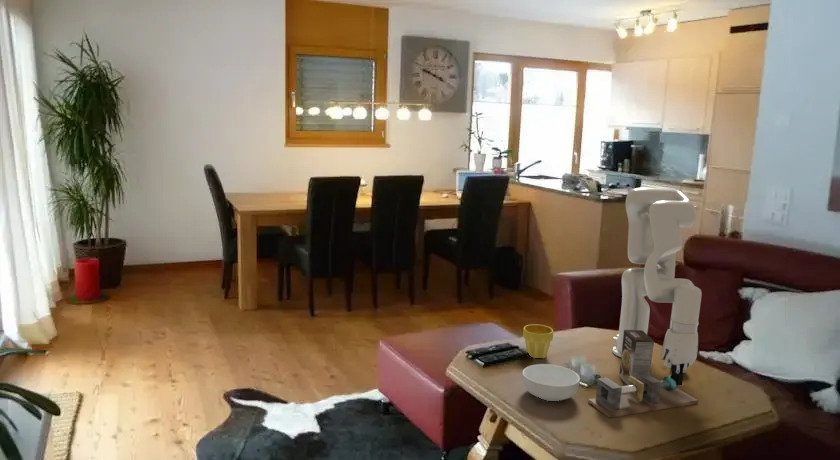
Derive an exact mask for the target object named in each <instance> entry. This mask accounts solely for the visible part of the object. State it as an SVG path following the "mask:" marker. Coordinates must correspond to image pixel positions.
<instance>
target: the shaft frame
mask: <svg viewBox="0 0 840 460" xmlns="http://www.w3.org/2000/svg"><path fill="white" fill-rule="evenodd" d="M661 381H662V380H659V379H658V378H656V377H654V376H652V375H651V374H650V375H649V374H647V373H645V372H642V373H637V375H636V378H634V377H633V376H629V378H628V385H633V383H634V384H636V385H637V386H638V391H637V393H631V394H625V395H621V390H622V387H621V386H620V384H617V383H616V382H614V381H613V380H611V379H610V378H608V377H601V378H597V383H596V392H595V393H596V396H595V397H593V398H588V400H587V402H589V404H590V405H591V404H592V405H593V408H595V407H596V408H597V409H596V408H595V409H596V410H598V411H599V410H600V411H599V412H601V413H602V414H603V413H604V414H603V415H604V416H606V417H607V416H608V417H607V418H609V419H611V418H610V417H612V418H617V417H624V416H629V415H634V414H635V415H636V414H641V413H647V412H653V411H659V410H664V409H665V410H666V409H671V408H672V409H673V408H678V407H683V406H689V405H695V404H698V401H699V400H698V399H696V398H695V397H693V396H692V395H690V394H688V393H686V392H685V391H682V390H681V389H679V388H678V387H676V388H675V390H674V391H667V390H665V388H664V389H660V386H661ZM644 383H646V384H648V387H647V391H645V392H643V389H644ZM592 405H591V406H592Z"/></svg>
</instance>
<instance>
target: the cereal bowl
mask: <svg viewBox="0 0 840 460" xmlns="http://www.w3.org/2000/svg"><path fill="white" fill-rule="evenodd" d="M521 373H522V376H521V379H522V384H523V386H524V388H525V390H526V391H528V392H527V393H529V394H531V395H533V396H535V397H536V398H538V397H539V398H541V399H544V400H547V401H546V402H548V401H558V402H560V401H563V400H568V399H570V398H572V397H573V396H575V395H576V394H577V392H578V390H579V387H580V384H581V383H580V382H581V379H580V375H579V374H578V373H577V372H575V371H574V370H572V369H570V368H567V367H565V366H561V365H558V364H551V363H550V364H549V363H539V364H538V363H537V364H532V365H528V366H527V367H525V368H523V369H522V372H521ZM539 398H538V399H539ZM541 399H540V400H541ZM544 400H543V401H544ZM559 400H560V401H559Z"/></svg>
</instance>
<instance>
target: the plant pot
mask: <svg viewBox="0 0 840 460" xmlns="http://www.w3.org/2000/svg"><path fill="white" fill-rule="evenodd" d="M522 331H523V332H522V337H523V339H524V342H525V349H526V353H527V352H528V353H529V355H530V356H531V357H533V359H535V358H543V359H546V357H547V355H548V351H549V349H550V344H551V342H552V341H553V338H554V330H553V328H552V327H550V326H548V325H545V324H537V323H535V324H534V323H533V324H526V325H525V326H524V327H523V330H522ZM531 357H530V358H531Z"/></svg>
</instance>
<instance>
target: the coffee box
mask: <svg viewBox="0 0 840 460" xmlns="http://www.w3.org/2000/svg"><path fill="white" fill-rule="evenodd" d="M654 343H655V340H654V339H653V338H652V337H650V336H649V334H648V333H647V334H646V333H645V332H644V331H642V330H624V336H623V345H622V355H621V357H620V363H619V364H620V365H619V375H618V376H619V378H620V379H621V380H622V381H623V382H624V383H625V385H626V386H627V385H628V378H629V376H633V377H634V378H636V375H637V373H642V372H645V373H647V374H649V375H651V367H652V361H653V360H652V359H653V352H654V345H655V344H654ZM633 385H634V383H633Z"/></svg>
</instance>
